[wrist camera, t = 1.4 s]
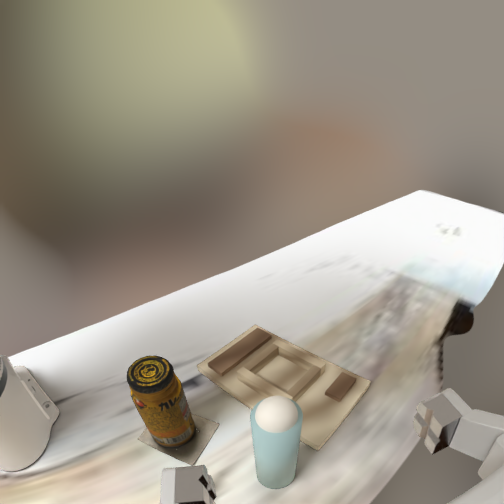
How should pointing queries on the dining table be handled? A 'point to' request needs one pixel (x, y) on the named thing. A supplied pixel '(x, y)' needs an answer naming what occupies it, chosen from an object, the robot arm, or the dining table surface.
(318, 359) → the jig
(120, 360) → the dining table surface
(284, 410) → the roll-on deodorant
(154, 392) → the condiment
